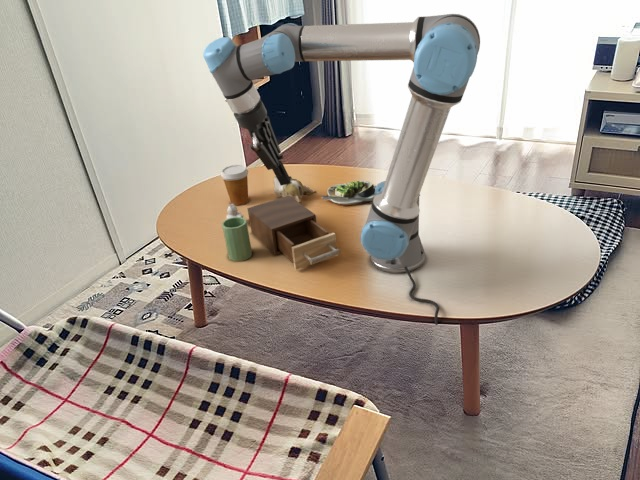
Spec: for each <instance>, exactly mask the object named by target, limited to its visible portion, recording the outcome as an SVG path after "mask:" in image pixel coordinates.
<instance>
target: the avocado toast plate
mask: <svg viewBox="0 0 640 480" xmlns="http://www.w3.org/2000/svg"><path fill="white" fill-rule="evenodd" d="M375 188H376V187H375V186H374V184H372V183H371V182H369V181H367V180H354V181H350V182H345V183H338V184H333V185H331V186H329V187H328V188H327V190H326V192H327V195H322V196H321V199H322V200H325V201H329V202H331V203H335V204H338V205H342V206H343V205H344V206H353V205H363V204H368V203H372V202H373V199H374V196H375Z"/></svg>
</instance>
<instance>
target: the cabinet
mask: <svg viewBox="0 0 640 480" xmlns="http://www.w3.org/2000/svg"><path fill="white" fill-rule="evenodd" d="M246 210H247V213H248V215H247V216H248V220H249V224H250V231H251V234H252V235H253V236H254V237H255V238H256V239H257V240H258V241H259V242H261V244H262V245H264V246H265V247H266V248H267V249H268V250H269V251H270V252H271V253H272V254H273V255H274V256H278V255H281V254H283V253H282V252H281V251H279V250H278V249H277V244H276V237H275V231H276V230H279V229H282V228H285V227H288V226H291V225H294V224H297V223H300V222H303V221H306V220H309V219H312V220H313V221H314V222H316V223H317V215H316V213H314V212H313V211H311V210H310V209H309V208H307V207H306V206H304V205H303V204H302V203H299V202H298V201H296V200H295V199H293V198H292V197H291V196H289V195H288V196H285V197H281V198H276V199H272V200H270V201H267V202H263V203H260V204H256V205H253V206H250V207H247V209H246Z"/></svg>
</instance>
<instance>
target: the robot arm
mask: <svg viewBox="0 0 640 480" xmlns="http://www.w3.org/2000/svg"><path fill="white" fill-rule="evenodd" d="M480 47H481V36H480V32H479V29H478V26H477V25H476V24H475V23H474V22H473V21H472V19H470V18H469V17H467V16H466V15H463V14H459V13H448V14H437V15H429V16H428V15H427V16H417V17H416V18H415V19H414V21H411V22H409V21H408V22H407V21H405V22H382V23H381V22H378V23H377V22H376V23H375V22H374V23H350V24H349V23H348V24H345V23H344V24H318V25H317V24H316V25H315V24H314V25H298V24H296V23H291V22H290V23H289V22H288V23H285V24H281V25H280V26H277V27H276V29H274V30H272V31H271V32H269V33H267V34H266V35H264V36H262V37H261V38H258V39H256V40H253V41H249V42H247V43H243V44H239V45H236V43H235V42H234V40H233V39H232V38H231V37H229V36H222V37H219V38H217V39H215V40H213V41H212V42H210V43H209V44H207V46H206V47H205V48H204V50H203V52H202V53H203V54H202V55H203V59H204V61H205V63H206V65H207V68H208V69H209V72H210V74H211V75H212V77H213V79H214V80H215V82H216V84H217V86H218V87H219V90H220V91H221V93H222V95H223V97H224V101H225V102H226V103H227V105H228V106H229V108H230V110H231V112H232V113H233V116H234V118H235V120H236V122H237V124H238V126H239V127H240V128H241V129H245V130H247V132H248V134H249V137H250V138H251V139H252V144H250V149H251V151H253V152H254V153H255V154H256V156H257V157H258V158H259V159H260V161H261V162H262V164H263V166H265V168H266V170H268V171H270V170H272V172H273V173H274V175H275V176H276V177H277V179H278V181H279V183H280V185H281V186H282V185H286V184H290V181H291V179H290V177H289V174H288V172H287V170H286V167H285V166H284V163H283V162H282V160H283V159H284V155H281V153H282V150H281V148H280V146H279V143H278V140H277V138H276V135H275V132H274V129H273V127H272V124H271V120H270V117H269V115H268V111H267V108H266V107H265V104H264V103H263V101H262V99H261V96H260V93H259V92H258V90H257V88H256V86H255V84H254V82H253V81H254V80H258V79H261V78H265V77H269V76H273V75H280V74H282V73H284V72H287V71H290V70H292V69H293V68H294V66H295V63H296V62H297V63H298V62H299V63H300V62H347V61H348V62H351V61H352V62H353V61H354V62H356V61H357V62H358V61H363V62H364V61H412V63H413V67H412V71H411V74H410V76H409V77H410V78H409V79H408V83H407V88H408V91H409V93H410V94H411V98H410V101H409V104H408V108H407V111H406V114H405V118H404V120H403V124H402V127H401V130H400V133H399V136H398V140H397V143H396V146H395V150H394V153H393V156H392V159H391V162H390V166H389V169H388V172H387V175H386V178H385V180H383V181H381V182H379V183H377V184H376V185H375V187H374V188H375V196H374V199H373V201H371V206H370V209H369V212H368V215H367V218H366V221H365V224H364V226H362V228H361V233H360V242H361V246H362V248H363V249H364V250H365V252H367V254H368V255H370V263H371V264H372V266H373V267H374V268H376V269H377V270H380V271H382V272H385V273H391V274H404V273H406V274H407V276H408V278H409V280H410V281H411V284H412V287H411V289H410V291H409V294H408V295H409V298H411V299H412V300H413V301H416V302H422V303H428V304H431V305H433V306H434V307H435V313H434V325H435V326H438V325H439V321H438V319H439V317H438V316H439V312H440V306H439V304H438V303H437V302H436V301H434V300H432V299H428V298H419V297H416V296H414V295H413V293H414V291H415V290H416V286H417V283H416V281H415V280H414V278H413V276H412V274H411V273H410V272H412V271H415V270H417V269H419V268H420V267H421V266H422V265H423V264H424V263H425V257H426V254H425V249H424V246H423V243H422V240H421V237H420V234H419V231H420V210H421V209H420V196H421V191H422V188H423V186H424V183H425V180H426V177H427V175H428V172H429V170H430V166H431V164H432V160H433V158H434V155H435V153H436V150H437V147H438V145H439V142H440V139H441V136H442V134H443V130H444V129H445V125H446V122H447V120H448V116H449V115H450V111H451V108H452V107H455V106H456V105H458V104H460V103H461V102H462V100H463V97H464V94H465V91H466V89H467V86H468V83H469V81H470V78H471V77H472V75H473V74H474V72H475V68H476V65H477V62H478V55H479V52H480Z"/></svg>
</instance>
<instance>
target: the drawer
mask: <svg viewBox="0 0 640 480" xmlns="http://www.w3.org/2000/svg"><path fill="white" fill-rule="evenodd" d="M275 237H276V244H277V249H278V250H279V251H281V252H282V253H281V254H283V255H284V256H285V258H287V259H288V260H289V261H291V263H292V264H293V267H294V269H295V271H296V270H300V269H302V268H305V267H308V266H311V265H314V264H317V263H320V262H322V261H325V260H327V259H331V258H334V257H336V256H339V255H341V250H340V249H339V248H338V247H337V246H338V245H337V236H336V233H335V232H331V233H329V231H328V230H326V229H325V228H324V227H323V226H321V225H319V224H318V223H317V221H316V222H314V221H313V220H312V219H309V220H306V221H303V222H300V223H297V224H294V225H291V226H288V227H285V228H282V229H279V230H276V231H275Z"/></svg>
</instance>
